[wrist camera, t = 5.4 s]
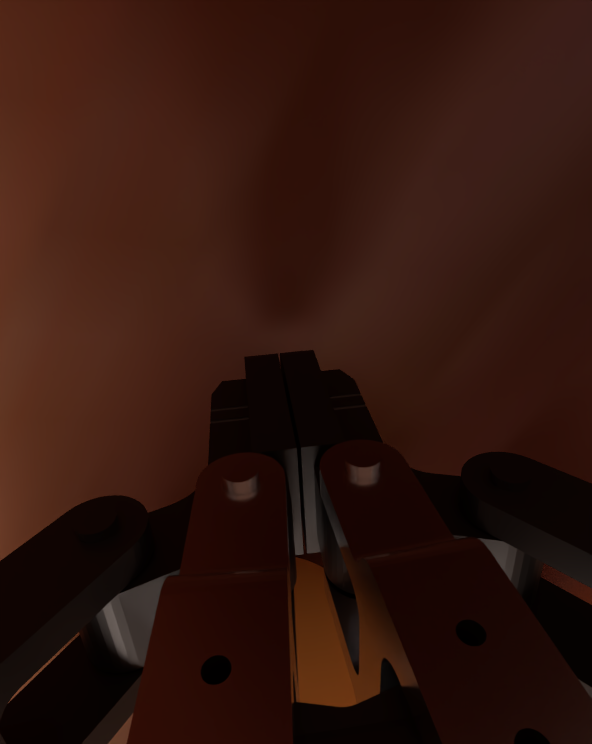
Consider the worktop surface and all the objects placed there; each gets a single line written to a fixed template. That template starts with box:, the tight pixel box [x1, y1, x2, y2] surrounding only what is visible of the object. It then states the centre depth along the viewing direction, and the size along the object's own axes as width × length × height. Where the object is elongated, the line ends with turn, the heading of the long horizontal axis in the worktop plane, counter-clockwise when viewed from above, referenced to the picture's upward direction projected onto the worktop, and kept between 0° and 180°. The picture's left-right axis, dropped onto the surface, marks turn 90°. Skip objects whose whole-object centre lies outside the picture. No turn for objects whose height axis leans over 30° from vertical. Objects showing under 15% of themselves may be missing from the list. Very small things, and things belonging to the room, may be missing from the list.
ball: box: [294, 557, 357, 707], centre depth 14 cm, size 6×6×6 cm
